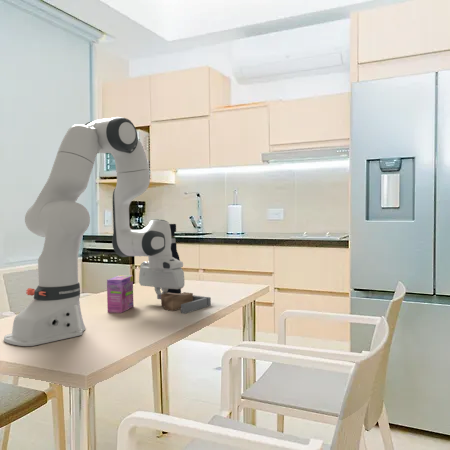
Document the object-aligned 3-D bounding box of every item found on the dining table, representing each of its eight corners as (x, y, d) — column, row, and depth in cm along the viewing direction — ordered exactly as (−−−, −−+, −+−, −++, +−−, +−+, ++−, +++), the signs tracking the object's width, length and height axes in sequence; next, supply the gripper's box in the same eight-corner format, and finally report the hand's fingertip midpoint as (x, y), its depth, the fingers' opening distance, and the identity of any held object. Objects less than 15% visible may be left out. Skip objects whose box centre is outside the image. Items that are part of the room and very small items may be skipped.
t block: (154, 308, 164) (154, 295, 164) (175, 302, 173) (174, 291, 173) (172, 310, 159) (172, 298, 159) (193, 305, 168) (192, 293, 168)
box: (122, 313, 158) (121, 279, 157) (107, 312, 159) (106, 279, 158) (134, 306, 168) (133, 275, 167) (119, 306, 169) (118, 275, 168)
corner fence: (184, 313, 154) (184, 304, 154) (164, 310, 160) (163, 302, 160) (210, 305, 167) (210, 297, 167) (190, 302, 172) (190, 295, 172)
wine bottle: (179, 295, 187) (177, 223, 186) (182, 298, 181) (180, 223, 180) (164, 296, 185) (161, 224, 184) (167, 299, 179) (164, 224, 178)
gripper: (134, 262, 172) (135, 298, 173) (175, 264, 161) (176, 303, 161) (146, 260, 177) (147, 295, 178) (186, 262, 166) (187, 300, 166)
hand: (161, 299), depth 169 cm, fingers closed
